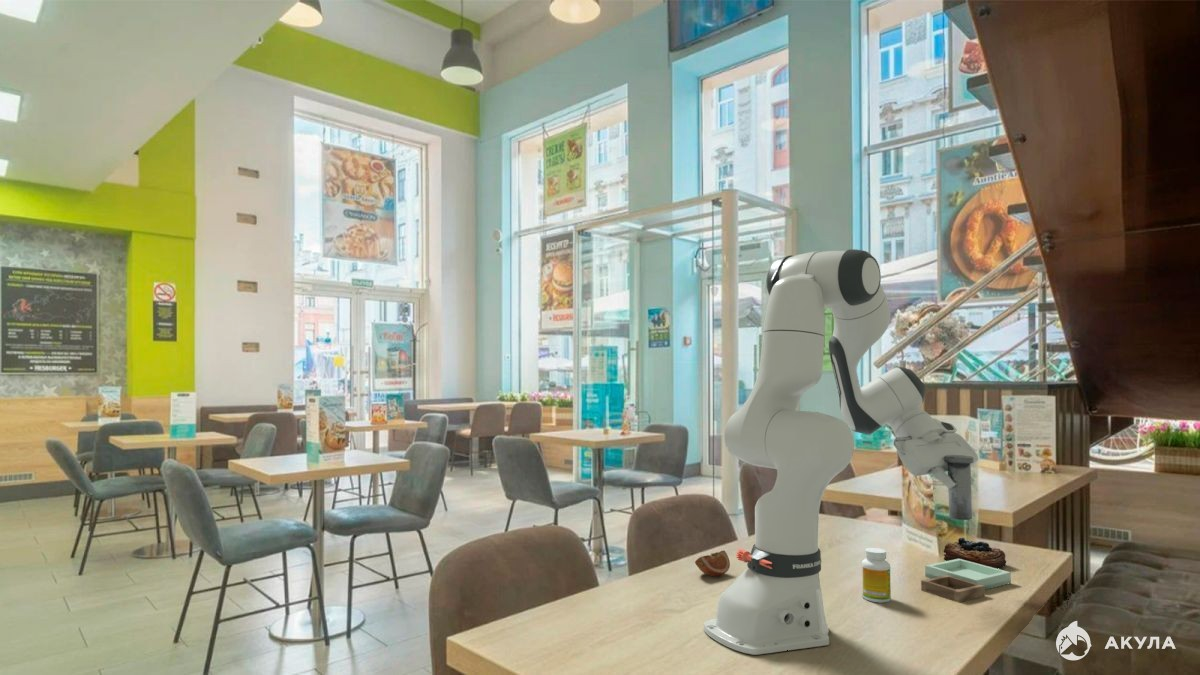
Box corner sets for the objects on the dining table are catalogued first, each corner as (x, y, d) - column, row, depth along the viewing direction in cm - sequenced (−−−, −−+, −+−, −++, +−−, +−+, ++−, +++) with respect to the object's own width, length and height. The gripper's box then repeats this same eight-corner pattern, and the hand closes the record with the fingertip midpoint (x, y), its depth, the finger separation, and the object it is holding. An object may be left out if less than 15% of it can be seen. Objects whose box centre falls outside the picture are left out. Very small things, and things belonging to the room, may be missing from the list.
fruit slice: (709, 582, 148) (709, 559, 148) (687, 575, 153) (687, 552, 154) (735, 575, 153) (735, 553, 153) (713, 568, 159) (713, 546, 159)
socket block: (958, 602, 136) (958, 592, 136) (921, 590, 144) (921, 580, 144) (984, 595, 140) (984, 585, 140) (946, 584, 147) (946, 574, 148)
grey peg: (964, 521, 143) (962, 459, 143) (940, 516, 148) (938, 456, 148) (981, 518, 146) (979, 457, 146) (956, 513, 151) (954, 454, 151)
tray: (976, 592, 142) (976, 580, 142) (925, 576, 153) (925, 565, 153) (1010, 583, 148) (1010, 572, 148) (959, 569, 159) (958, 558, 159)
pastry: (967, 555, 171) (967, 531, 171) (1014, 568, 160) (1013, 543, 161) (937, 560, 166) (937, 536, 167) (983, 574, 156) (983, 548, 156)
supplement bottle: (893, 604, 135) (892, 554, 135) (864, 602, 136) (864, 552, 136) (887, 595, 140) (887, 547, 141) (860, 593, 141) (859, 545, 142)
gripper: (898, 429, 149) (940, 481, 140) (957, 423, 158) (1000, 472, 149) (881, 447, 152) (921, 499, 144) (940, 441, 162) (981, 489, 153)
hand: (962, 485), depth 147 cm, fingers closed on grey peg, 4 cm apart
